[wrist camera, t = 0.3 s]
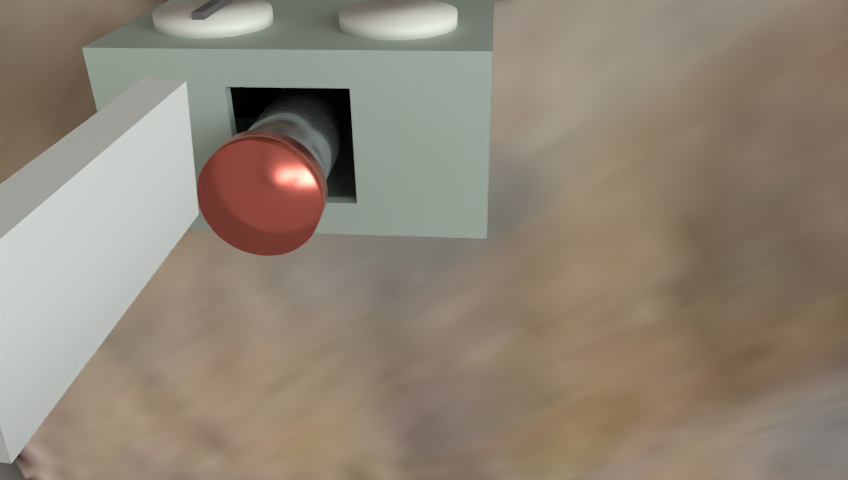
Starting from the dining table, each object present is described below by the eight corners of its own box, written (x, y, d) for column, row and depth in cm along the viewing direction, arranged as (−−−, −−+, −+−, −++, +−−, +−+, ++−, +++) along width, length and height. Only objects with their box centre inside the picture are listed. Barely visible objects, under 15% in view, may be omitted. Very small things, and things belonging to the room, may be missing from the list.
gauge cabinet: (188, -30, 39) (76, 24, 28) (494, -30, 38) (493, 26, 27) (214, 130, 43) (125, 227, 33) (489, 135, 42) (486, 238, 32)
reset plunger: (254, 72, 32) (187, 141, 25) (355, 73, 32) (315, 143, 25) (266, 166, 34) (207, 253, 27) (360, 168, 34) (325, 257, 27)
